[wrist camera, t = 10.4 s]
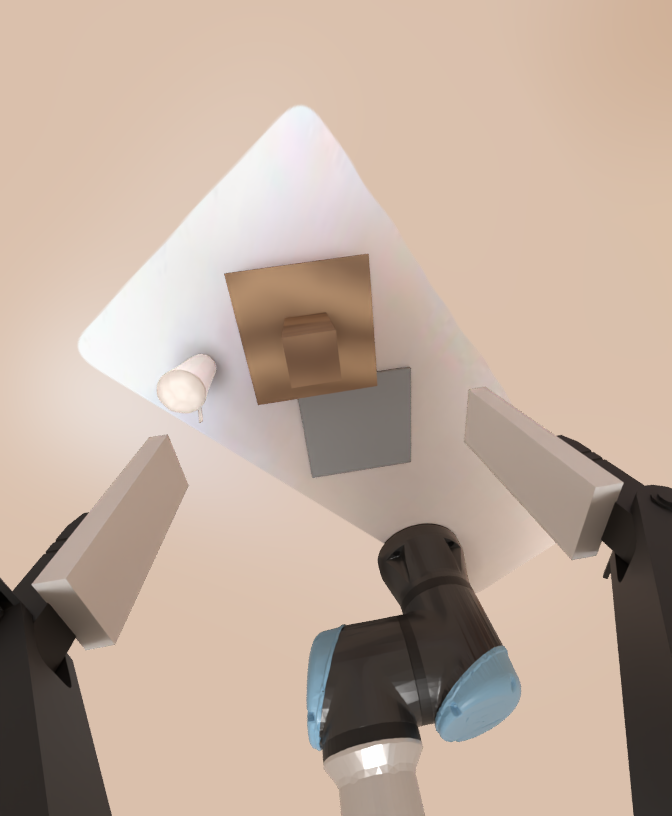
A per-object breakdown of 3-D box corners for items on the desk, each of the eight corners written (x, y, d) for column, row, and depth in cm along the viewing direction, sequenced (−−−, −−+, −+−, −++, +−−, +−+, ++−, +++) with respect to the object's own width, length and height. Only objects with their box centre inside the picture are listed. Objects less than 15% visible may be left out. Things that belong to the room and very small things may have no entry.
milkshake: (209, 395, 40) (185, 435, 31) (174, 364, 38) (137, 398, 29) (235, 373, 39) (217, 408, 30) (201, 340, 37) (171, 367, 28)
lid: (374, 382, 35) (399, 420, 27) (259, 400, 35) (248, 445, 27) (365, 254, 30) (393, 254, 21) (226, 273, 29) (199, 280, 21)
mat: (409, 459, 48) (410, 462, 48) (312, 475, 48) (312, 477, 47) (409, 366, 42) (410, 368, 41) (295, 383, 41) (295, 384, 40)
